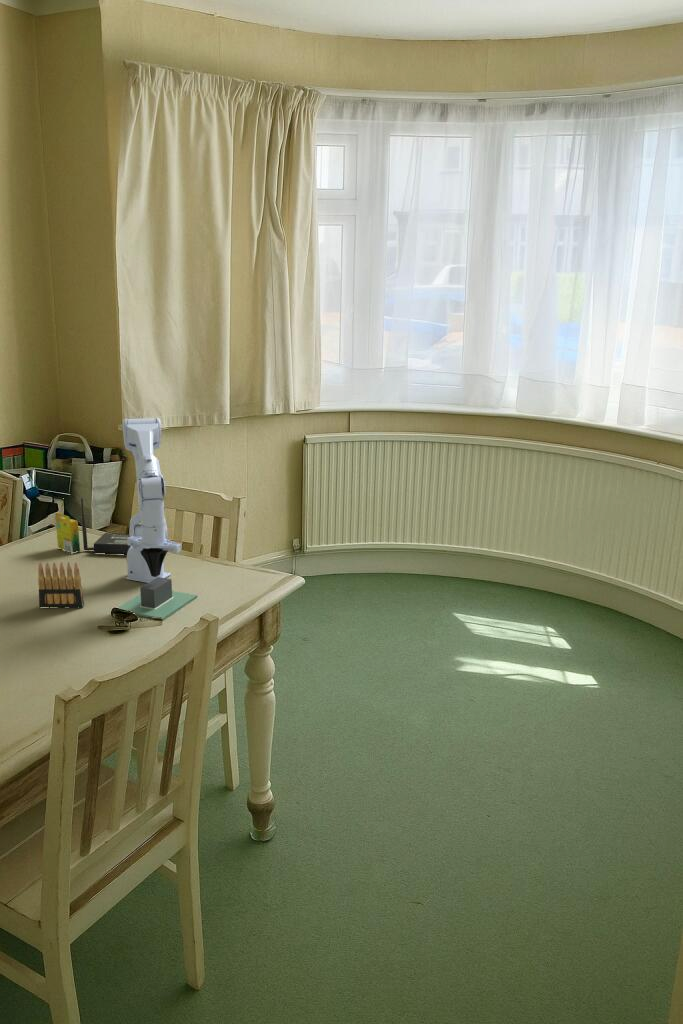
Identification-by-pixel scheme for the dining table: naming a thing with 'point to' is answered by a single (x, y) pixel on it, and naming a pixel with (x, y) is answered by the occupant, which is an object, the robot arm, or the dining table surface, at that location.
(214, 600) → the dining table surface
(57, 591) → the ammunition clip
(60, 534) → the crayon box
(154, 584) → the block
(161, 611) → the header board
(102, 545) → the wifi router
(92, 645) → the dining table surface
